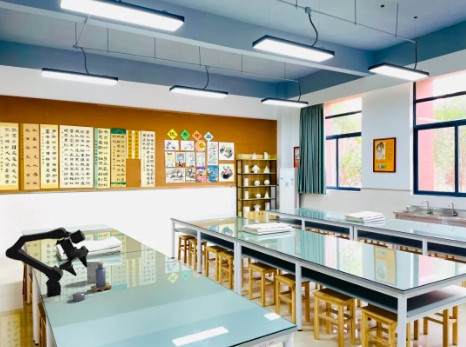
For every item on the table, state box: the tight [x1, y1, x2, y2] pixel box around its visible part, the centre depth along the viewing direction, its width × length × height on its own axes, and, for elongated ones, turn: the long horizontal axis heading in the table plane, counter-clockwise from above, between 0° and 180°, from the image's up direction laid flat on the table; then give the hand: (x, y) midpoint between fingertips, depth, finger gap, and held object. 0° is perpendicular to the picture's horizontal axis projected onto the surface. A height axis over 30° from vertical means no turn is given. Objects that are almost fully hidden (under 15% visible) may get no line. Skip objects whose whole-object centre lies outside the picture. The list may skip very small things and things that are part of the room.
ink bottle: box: [95, 260, 107, 288], centre depth 204 cm, size 5×5×14 cm
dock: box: [90, 282, 113, 294], centre depth 204 cm, size 10×7×2 cm
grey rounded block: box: [72, 291, 86, 303], centre depth 189 cm, size 6×6×3 cm
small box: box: [86, 258, 103, 283], centre depth 220 cm, size 8×6×13 cm
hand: (81, 271), depth 201 cm, fingers open, 9 cm apart
